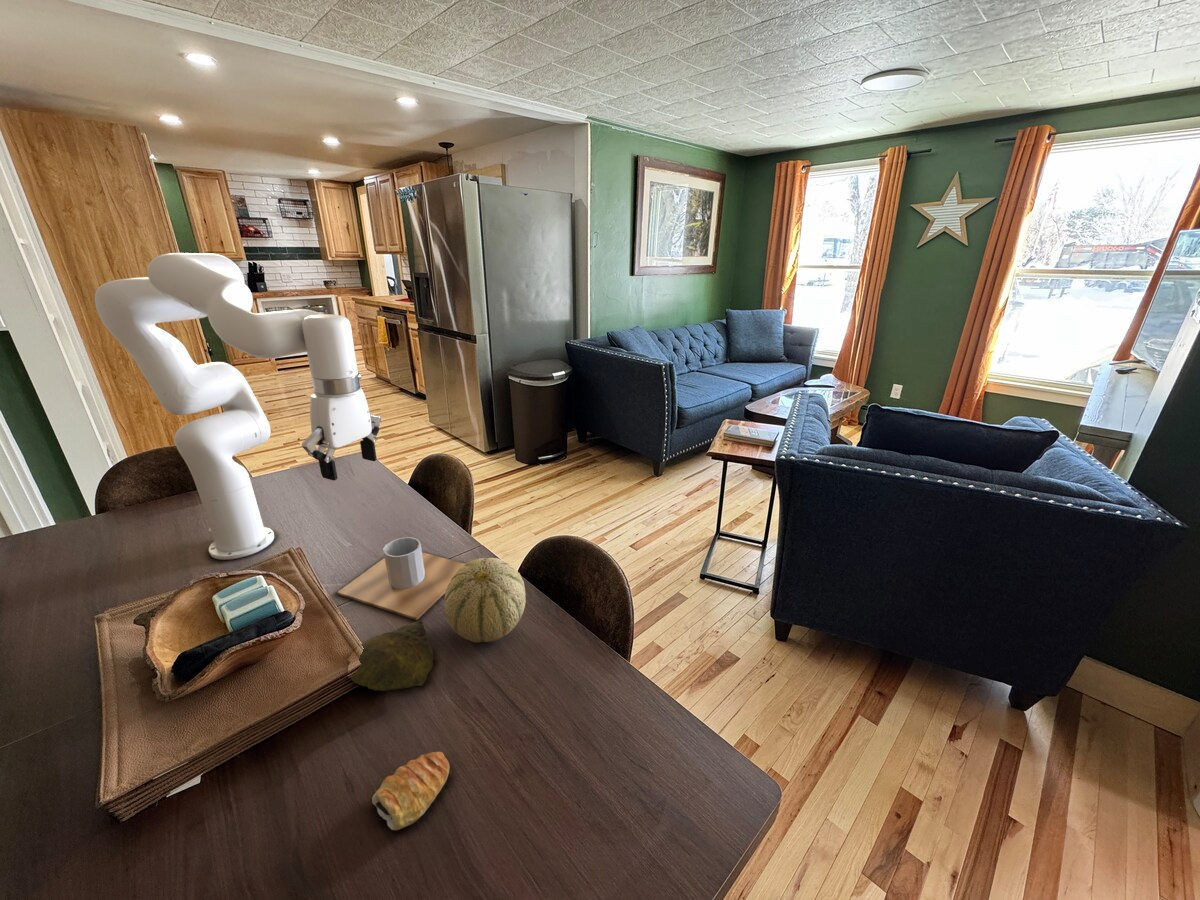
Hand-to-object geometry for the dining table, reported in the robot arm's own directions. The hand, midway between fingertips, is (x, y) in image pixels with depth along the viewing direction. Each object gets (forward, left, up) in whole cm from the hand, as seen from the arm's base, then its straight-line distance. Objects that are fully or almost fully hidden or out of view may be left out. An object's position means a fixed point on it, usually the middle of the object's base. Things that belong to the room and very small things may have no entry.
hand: (350, 468), depth 93 cm
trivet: (+9, +2, -26) cm, 27 cm away
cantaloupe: (+33, -4, -26) cm, 42 cm away
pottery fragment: (+22, -16, -26) cm, 37 cm away
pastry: (+40, -33, -26) cm, 58 cm away
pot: (+9, +2, -25) cm, 26 cm away
